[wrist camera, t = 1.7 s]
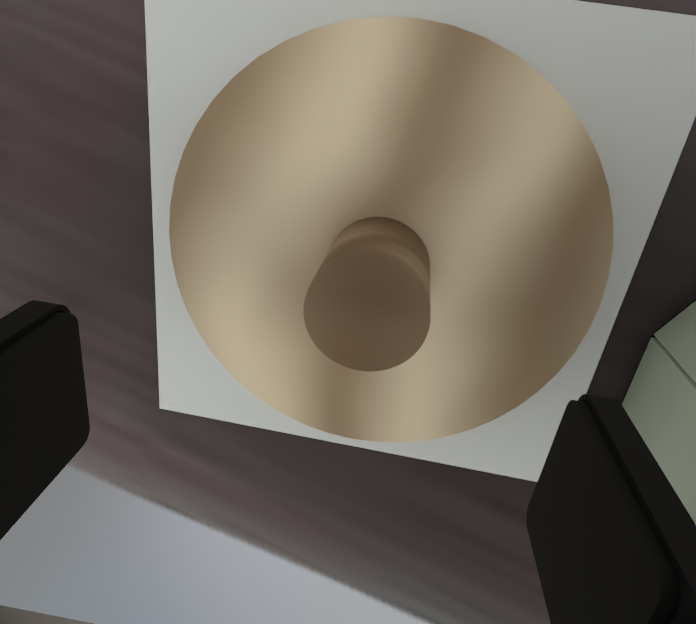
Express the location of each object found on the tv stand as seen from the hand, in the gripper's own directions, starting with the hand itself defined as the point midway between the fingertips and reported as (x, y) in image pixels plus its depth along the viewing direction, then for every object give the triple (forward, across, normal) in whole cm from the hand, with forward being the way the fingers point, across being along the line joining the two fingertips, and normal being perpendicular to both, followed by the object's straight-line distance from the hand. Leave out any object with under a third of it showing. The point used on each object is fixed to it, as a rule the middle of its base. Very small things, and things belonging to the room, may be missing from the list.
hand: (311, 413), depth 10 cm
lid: (+10, -1, 0) cm, 10 cm away
